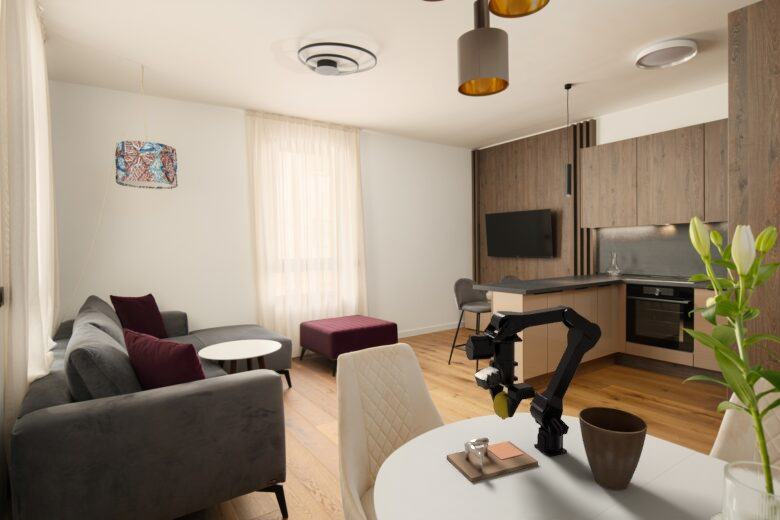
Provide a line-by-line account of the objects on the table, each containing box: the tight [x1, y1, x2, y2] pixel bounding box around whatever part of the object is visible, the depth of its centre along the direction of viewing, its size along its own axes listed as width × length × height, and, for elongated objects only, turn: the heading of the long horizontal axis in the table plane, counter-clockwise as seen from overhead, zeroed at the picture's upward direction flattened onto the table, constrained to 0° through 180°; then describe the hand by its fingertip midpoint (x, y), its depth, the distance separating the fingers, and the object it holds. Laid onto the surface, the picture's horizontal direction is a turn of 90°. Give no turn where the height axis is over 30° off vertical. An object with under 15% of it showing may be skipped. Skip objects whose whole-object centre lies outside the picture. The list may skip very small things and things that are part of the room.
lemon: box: [492, 390, 510, 420], centre depth 117 cm, size 6×6×8 cm
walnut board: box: [446, 440, 539, 483], centre depth 113 cm, size 21×12×1 cm, turn 113°
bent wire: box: [464, 437, 490, 472], centre depth 111 cm, size 8×8×5 cm
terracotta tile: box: [488, 441, 524, 460], centre depth 117 cm, size 8×8×1 cm
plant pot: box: [578, 406, 648, 491], centre depth 104 cm, size 15×15×16 cm
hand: (503, 413), depth 117 cm, fingers closed on lemon, 5 cm apart
